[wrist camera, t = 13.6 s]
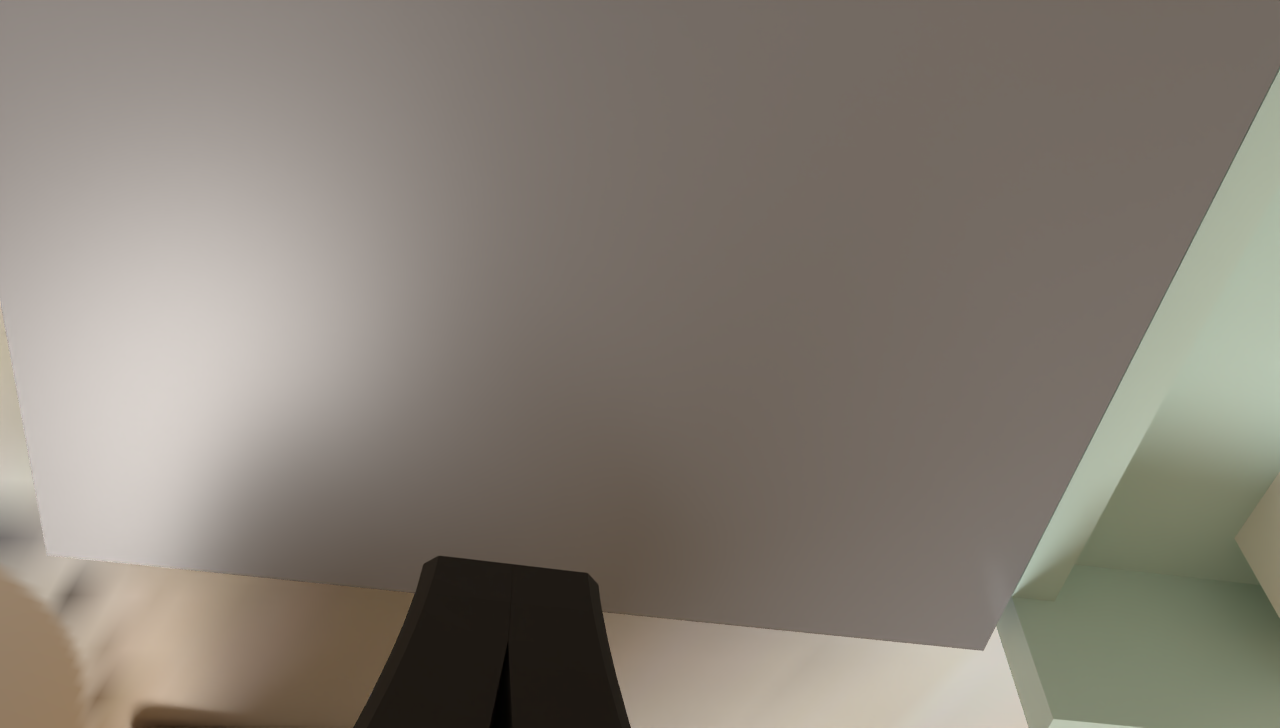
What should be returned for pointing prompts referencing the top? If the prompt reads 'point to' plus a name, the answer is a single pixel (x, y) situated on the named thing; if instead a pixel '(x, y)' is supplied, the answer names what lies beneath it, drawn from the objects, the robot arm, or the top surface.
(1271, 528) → the tile
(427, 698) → the robot arm
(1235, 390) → the tray
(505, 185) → the board
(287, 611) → the top surface
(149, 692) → the top surface
